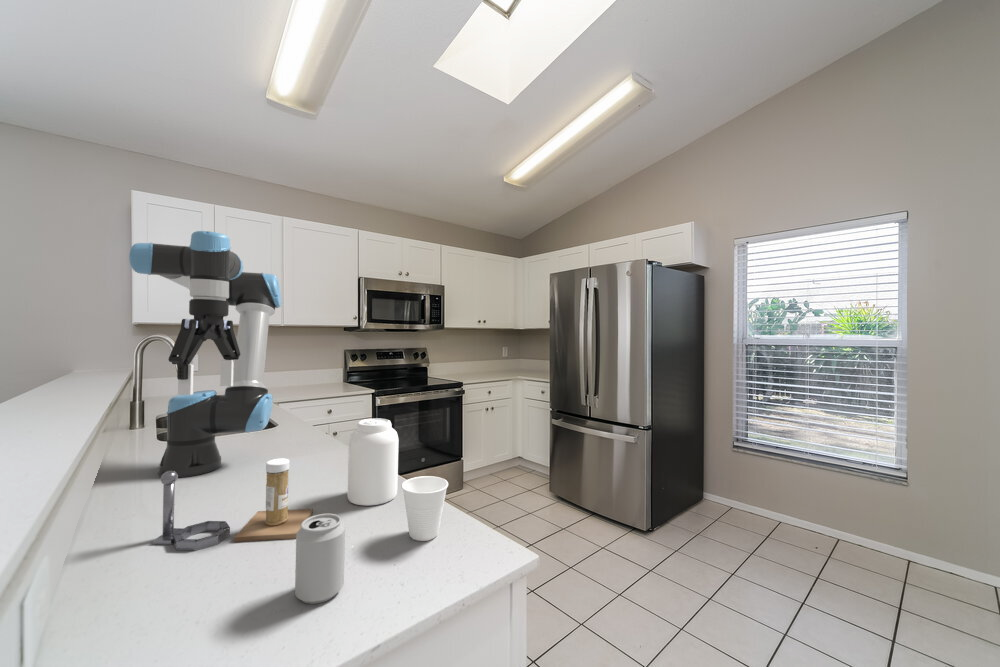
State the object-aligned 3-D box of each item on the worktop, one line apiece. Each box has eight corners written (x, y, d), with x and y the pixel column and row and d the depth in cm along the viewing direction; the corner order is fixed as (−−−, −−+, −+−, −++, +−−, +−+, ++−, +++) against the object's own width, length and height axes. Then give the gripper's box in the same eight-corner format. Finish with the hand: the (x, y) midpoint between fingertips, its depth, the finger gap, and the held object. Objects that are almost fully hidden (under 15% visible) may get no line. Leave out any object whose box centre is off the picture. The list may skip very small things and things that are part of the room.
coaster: (257, 515, 95) (257, 511, 95) (312, 512, 97) (312, 508, 97) (234, 542, 83) (234, 537, 83) (297, 538, 85) (297, 533, 85)
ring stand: (178, 527, 89) (179, 463, 88) (237, 528, 89) (239, 465, 89) (142, 549, 80) (143, 478, 80) (208, 551, 80) (210, 480, 80)
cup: (454, 528, 91) (456, 479, 91) (433, 550, 82) (434, 496, 82) (415, 520, 95) (416, 473, 95) (390, 541, 85) (392, 488, 85)
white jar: (350, 510, 99) (352, 428, 99) (344, 491, 110) (346, 417, 110) (402, 501, 105) (404, 423, 105) (391, 484, 116) (393, 414, 116)
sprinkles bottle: (289, 523, 90) (290, 462, 90) (265, 528, 87) (266, 465, 87) (286, 515, 93) (288, 456, 93) (263, 519, 91) (265, 459, 91)
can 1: (305, 579, 72) (306, 510, 72) (349, 577, 72) (350, 510, 72) (286, 607, 64) (288, 531, 64) (335, 606, 65) (337, 531, 65)
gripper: (228, 302, 108) (226, 382, 108) (147, 294, 83) (145, 398, 83) (256, 303, 108) (255, 383, 108) (185, 295, 83) (182, 399, 83)
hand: (207, 390), depth 96 cm, fingers open, 13 cm apart
